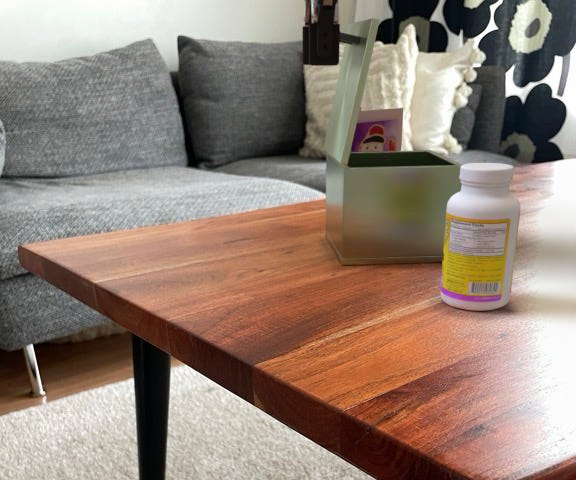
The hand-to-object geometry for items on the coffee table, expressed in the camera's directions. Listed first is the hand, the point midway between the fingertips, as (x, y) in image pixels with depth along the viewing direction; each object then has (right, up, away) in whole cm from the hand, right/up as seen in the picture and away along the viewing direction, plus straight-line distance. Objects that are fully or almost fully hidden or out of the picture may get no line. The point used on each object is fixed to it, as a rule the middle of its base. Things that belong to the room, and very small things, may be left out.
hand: (320, 63), depth 80 cm
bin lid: (+4, -3, +1) cm, 5 cm away
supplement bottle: (+15, -28, -10) cm, 33 cm away
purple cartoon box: (+7, -10, +29) cm, 31 cm away
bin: (+9, -19, +9) cm, 23 cm away
